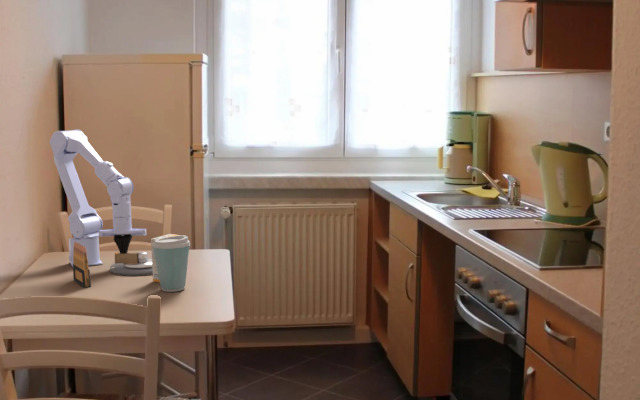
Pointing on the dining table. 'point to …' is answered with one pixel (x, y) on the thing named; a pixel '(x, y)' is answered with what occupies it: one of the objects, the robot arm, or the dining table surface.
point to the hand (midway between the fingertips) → (124, 258)
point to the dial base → (129, 270)
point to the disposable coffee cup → (172, 261)
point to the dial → (134, 260)
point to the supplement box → (154, 266)
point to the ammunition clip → (81, 266)
